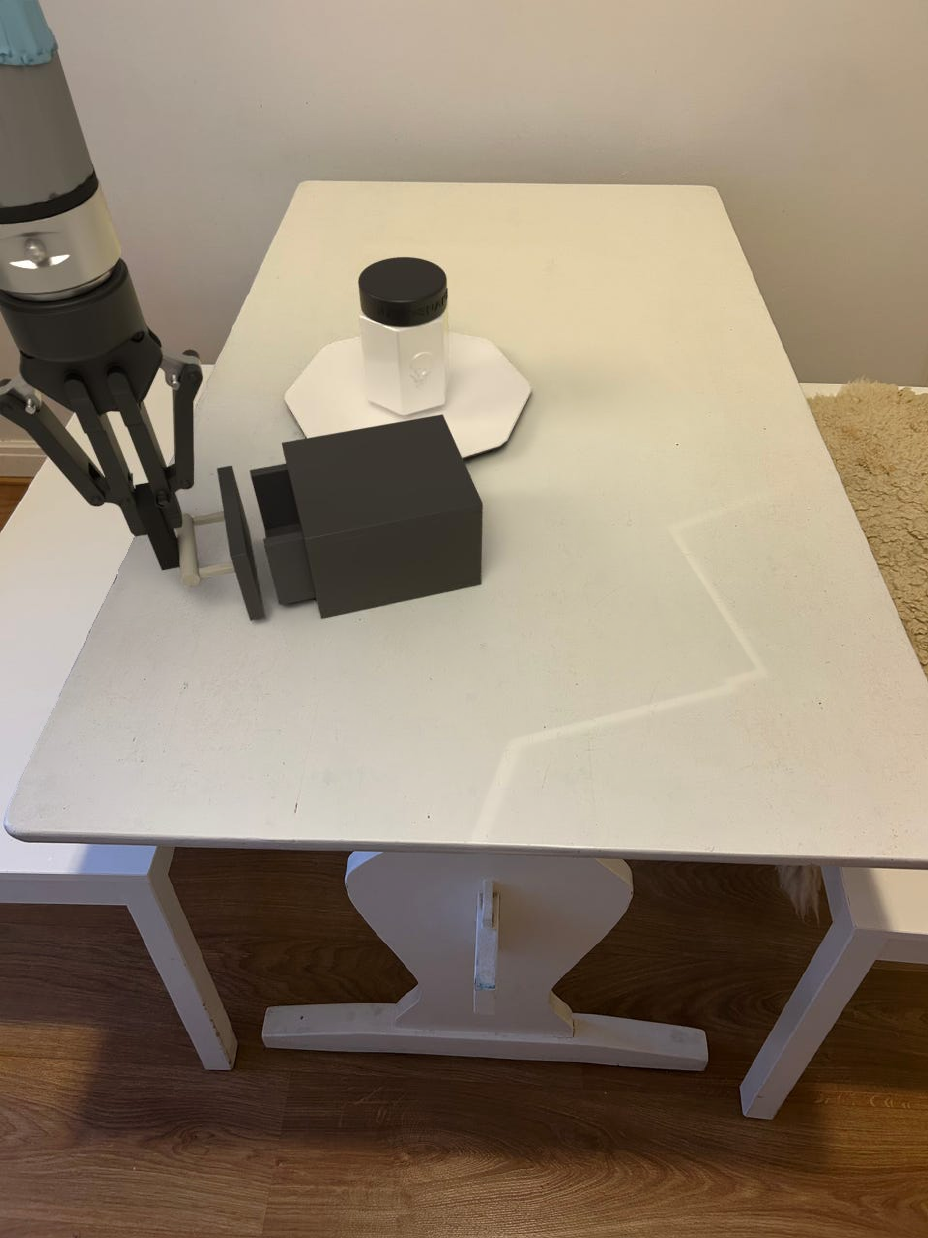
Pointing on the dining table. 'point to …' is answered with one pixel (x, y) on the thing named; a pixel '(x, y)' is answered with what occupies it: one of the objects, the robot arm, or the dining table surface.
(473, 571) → the dark grey box
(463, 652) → the dining table surface
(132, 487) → the robot arm
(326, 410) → the plate
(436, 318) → the jar
